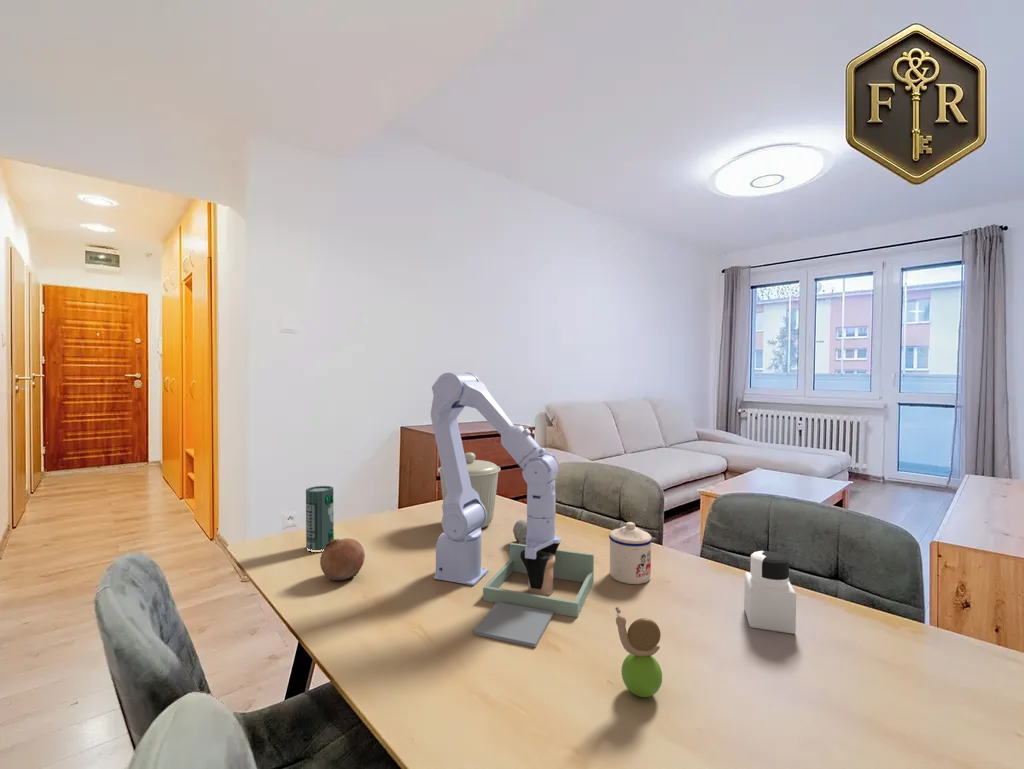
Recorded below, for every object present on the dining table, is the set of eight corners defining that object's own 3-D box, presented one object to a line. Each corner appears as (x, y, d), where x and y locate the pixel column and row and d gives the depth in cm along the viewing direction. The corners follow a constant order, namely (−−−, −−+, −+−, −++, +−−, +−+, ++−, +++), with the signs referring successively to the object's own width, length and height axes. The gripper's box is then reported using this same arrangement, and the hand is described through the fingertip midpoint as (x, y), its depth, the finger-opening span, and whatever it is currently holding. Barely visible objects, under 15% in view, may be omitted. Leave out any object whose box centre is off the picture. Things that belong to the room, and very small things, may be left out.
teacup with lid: (643, 589, 98) (644, 532, 97) (602, 578, 103) (602, 524, 102) (661, 569, 108) (661, 518, 107) (622, 560, 113) (622, 511, 112)
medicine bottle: (786, 615, 88) (788, 550, 87) (796, 635, 81) (797, 564, 81) (743, 608, 90) (744, 545, 90) (749, 627, 83) (750, 559, 83)
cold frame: (483, 600, 93) (483, 569, 93) (510, 569, 107) (511, 542, 107) (577, 617, 86) (577, 584, 86) (593, 582, 101) (593, 554, 101)
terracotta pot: (522, 594, 95) (522, 559, 95) (531, 582, 101) (531, 549, 100) (550, 599, 93) (550, 563, 93) (558, 587, 99) (558, 553, 98)
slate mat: (473, 634, 81) (473, 630, 81) (497, 604, 91) (497, 601, 91) (535, 647, 77) (535, 643, 77) (553, 615, 87) (553, 611, 87)
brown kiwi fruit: (325, 595, 101) (302, 557, 99) (349, 567, 109) (329, 532, 108) (357, 586, 98) (334, 547, 96) (380, 559, 106) (359, 522, 104)
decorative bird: (527, 539, 127) (527, 509, 127) (557, 564, 111) (557, 530, 111) (507, 542, 125) (507, 512, 125) (534, 568, 109) (534, 533, 109)
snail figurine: (609, 681, 68) (610, 598, 68) (653, 679, 69) (654, 597, 69) (621, 708, 63) (622, 618, 63) (668, 705, 64) (669, 616, 63)
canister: (510, 520, 143) (510, 450, 143) (482, 539, 127) (482, 460, 126) (458, 512, 151) (458, 446, 150) (425, 530, 134) (425, 455, 134)
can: (337, 547, 120) (337, 488, 120) (314, 554, 116) (313, 493, 115) (325, 542, 124) (325, 484, 124) (302, 548, 120) (302, 488, 119)
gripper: (550, 527, 88) (550, 600, 89) (568, 507, 102) (568, 570, 102) (514, 523, 91) (514, 594, 91) (537, 504, 104) (536, 565, 105)
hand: (540, 581), depth 97 cm, fingers closed on terracotta pot, 6 cm apart
